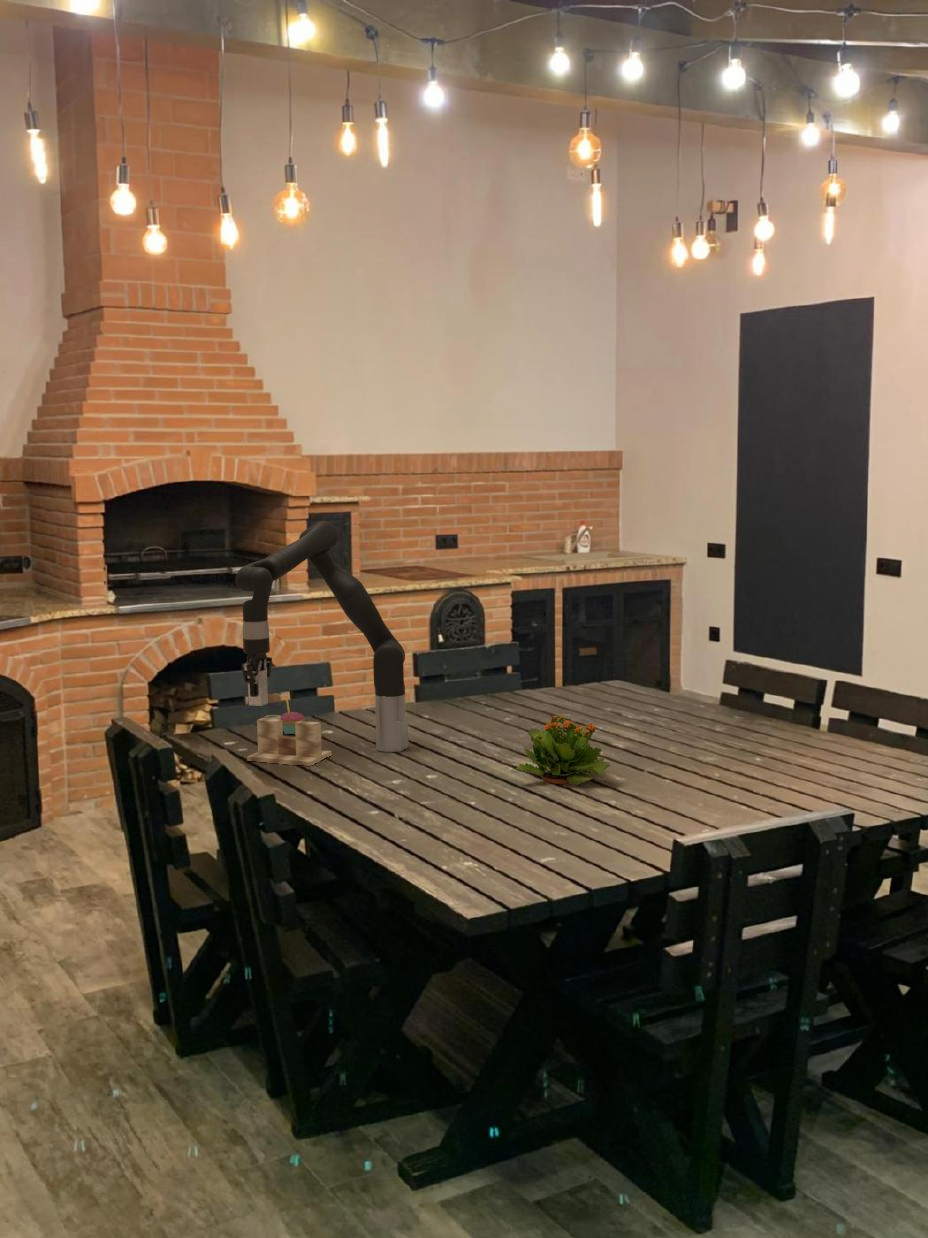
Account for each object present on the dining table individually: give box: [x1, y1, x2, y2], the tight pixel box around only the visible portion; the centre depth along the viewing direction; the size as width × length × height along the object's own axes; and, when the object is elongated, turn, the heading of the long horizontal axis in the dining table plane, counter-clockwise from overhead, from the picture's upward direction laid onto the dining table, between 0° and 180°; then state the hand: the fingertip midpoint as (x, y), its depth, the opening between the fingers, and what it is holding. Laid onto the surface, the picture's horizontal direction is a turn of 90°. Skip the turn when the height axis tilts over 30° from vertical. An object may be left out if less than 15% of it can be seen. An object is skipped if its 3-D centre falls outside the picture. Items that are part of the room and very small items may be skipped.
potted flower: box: [516, 715, 611, 787], centre depth 344 cm, size 25×24×18 cm
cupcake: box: [280, 696, 306, 735], centre depth 406 cm, size 9×8×12 cm
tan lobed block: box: [246, 714, 333, 766], centre depth 371 cm, size 21×14×12 cm, turn 69°
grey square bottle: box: [247, 669, 269, 707], centre depth 356 cm, size 4×4×13 cm
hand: (258, 694), depth 357 cm, fingers closed on grey square bottle, 4 cm apart
